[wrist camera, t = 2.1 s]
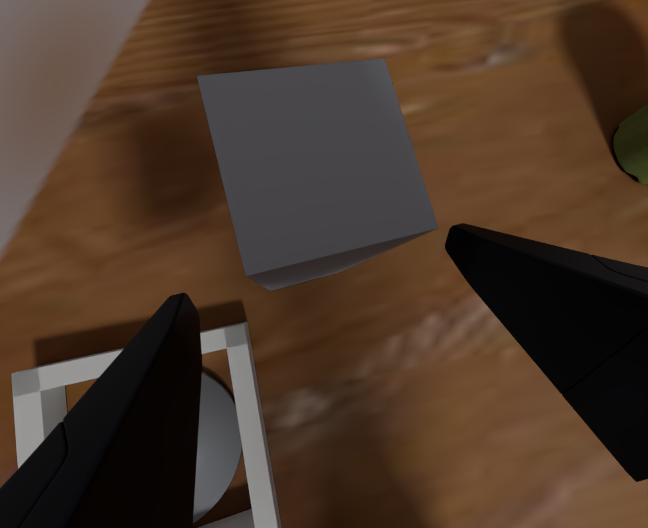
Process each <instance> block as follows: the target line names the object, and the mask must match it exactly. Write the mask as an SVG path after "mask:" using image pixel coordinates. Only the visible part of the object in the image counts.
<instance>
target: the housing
mask: <svg viewBox="0 0 648 528" xmlns="http://www.w3.org/2000/svg"><path fill="white" fill-rule="evenodd" d="M200 336H201V350H202V354H204V353H208V352H212V351H217V350H221V349H226V348H227V352H228V359H229V365H230V372H231V378H232V384H233V391H234V397H235V401H234V400H233V398H232V396H231V395H230V393H229V392H228V391H227V389H226V388H225V387H224V386H223V385H222V384H221V383H220V382H218V381H217V380H216V379H214V378H213V377H212V376H210V375H208V374H206V373H204V372H202V380H201V397H200V413H199V430H198V446H197V463H196V480H195V496H194V513H193V523H194V522H196V521H197V520H199V519H200V518H201V517H203V516H204V515H205V514H206V513H207V512H208V511H209V510H210V509H212V507H213V506H214V505H215V504H216V503H217V502H218V501H219V500H220V498H221V497H222V495H223V494H224V493H225V491H226V490H227V488H228V486H229V484H230V482H231V481H232V479H233V476H234V474H235V471H236V469H237V466H238V462H239V459H240V455H241V449H243V455H244V462H245V468H246V474H247V481H248V487H249V494H250V500H251V506H252V509H249V510H246V511H244V512H241V513H238V514H235V515H232V516H229V517H226V518H224V519H221V520H218V521H215V522H212V523H209V524H206V525H203V526H201V527H198V528H282V527H281V521H280V515H279V509H278V503H277V497H276V491H275V485H274V479H273V473H272V467H271V461H270V455H269V449H268V443H267V437H266V431H265V425H264V419H263V412H262V406H261V400H260V394H259V388H258V382H257V376H256V370H255V364H254V358H253V352H252V346H251V340H250V334H249V328H248V322H243V323H238V324H234V325H229V326H224V327H219V328H215V329H210V330H205V331H201V332H200ZM123 349H124V348H121V349H116V350H111V351H107V352H102V353H97V354H92V355H88V356H83V357H78V358H74V359H69V360H64V361H60V362H55V363H50V364H45V365H41V366H37V367H33V368H30V369H26V370H22V371H19V372H15V373H12V374H11V375H12V389H13V403H14V418H15V432H16V446H17V460H18V468H19V467H20V466H21V465H22V464H23V463H24V462H25V461H26V460H27V458H28V457H29V456H30V455H31V454H32V453H33V452H34V451H35V450H36V448H37V447H38V446H39V445H40V444H41V443H42V442H43V441H44V439H45V438H46V437H47V436H48V435H49V434H50V433H51V431H52V430H53V429H54V428H55V427H56V426H57V425H58V423H60V422H63V418H64V417H65V416H66V414H67V405H66V394H65V385H68V384H72V383H77V382H81V381H86V380H90V379H94V378H99V377H100V376H101V374H102V373H103V372H104V371H105V370H106V369H107V367H108V366H109V365H110V364H111V363H112V362H113V361H114V359H115V358H116V357H117V356H118V355H119V354H120V353H121V351H122V350H123Z"/></svg>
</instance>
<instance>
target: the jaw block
mask: <svg viewBox="0 0 648 528" xmlns="http://www.w3.org/2000/svg"><path fill="white" fill-rule="evenodd" d="M197 79H198V83H199V87H200V91H201V95H202V99H203V103H204V107H205V111H206V116H207V120H208V124H209V128H210V132H211V136H212V140H213V144H214V148H215V152H216V157H217V161H218V165H219V169H220V173H221V177H222V181H223V185H224V189H225V193H226V198H227V202H228V206H229V210H230V214H231V218H232V222H233V226H234V230H235V234H236V238H237V243H238V247H239V251H240V255H241V259H242V263H243V267H244V271H245V275H246V277H248V278H250V279H251V280H253V281H255V282H256V283H258V284H260V285H261V286H263V287H265V288H266V289H268V290H270V291H272V290H275V289H279V288H283V287H287V286H290V285H294V284H298V283H302V282H306V281H309V280H313V279H317V278H321V277H324V276H328V275H332V274H336V273H339V272H341V271H343V270H346V269H348V268H350V267H352V266H355V265H357V264H359V263H361V262H364V261H366V260H368V259H370V258H373V257H375V256H377V255H379V254H382V253H384V252H386V251H388V250H391V249H393V248H395V247H397V246H400V245H402V244H404V243H406V242H408V241H411V240H413V239H415V238H417V237H420V236H422V235H424V234H426V233H429V232H431V231H433V230H435V229H438V225H437V222H436V219H435V215H434V212H433V209H432V206H431V203H430V200H429V197H428V193H427V190H426V187H425V184H424V181H423V178H422V175H421V171H420V168H419V165H418V162H417V159H416V156H415V153H414V149H413V146H412V143H411V140H410V137H409V134H408V131H407V127H406V124H405V121H404V118H403V115H402V112H401V109H400V105H399V102H398V99H397V96H396V93H395V90H394V87H393V83H392V80H391V77H390V74H389V71H388V68H387V65H386V61H385V58H382V59H372V60H361V61H350V62H340V63H329V64H318V65H308V66H297V67H286V68H276V69H265V70H254V71H244V72H233V73H222V74H212V75H201V76H197Z"/></svg>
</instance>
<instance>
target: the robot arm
mask: <svg viewBox="0 0 648 528" xmlns="http://www.w3.org/2000/svg"><path fill="white" fill-rule="evenodd" d="M445 249H446V251H447V253H448V254H449V256H450V257H451V259H452V260H453V262H454V263H455V265H456V266H457V268H458V269H459V270H460V272H461V273H462V275H463V276H464V278H465V279H466V281H467V282H468V283H469V285H470V286H471V287H472V288H473V289H474V291H475V292H476V293H477V294H478V295H479V297H480V298H481V299H482V300H483V301H484V303H485V304H486V305H487V306H488V307H489V309H490V310H491V311H492V312H493V313H494V314H495V316H496V317H497V318H498V319H499V320H500V322H501V323H502V324H503V325H504V326H505V328H506V329H507V330H508V331H509V332H510V333H511V335H512V336H513V337H514V338H515V339H516V341H517V342H518V343H519V344H520V345H521V347H522V348H523V349H524V350H525V351H526V353H527V354H528V355H529V356H530V357H531V358H532V360H533V361H534V362H535V363H536V364H537V366H538V367H539V368H540V369H541V370H542V372H543V373H544V374H545V375H546V376H547V377H548V379H549V380H550V381H551V382H552V383H553V385H554V386H555V387H556V388H557V389H558V391H559V392H560V393H561V394H562V396H563V397H564V398H565V399H566V400H567V402H568V403H569V404H570V405H571V406H572V408H573V409H574V410H575V411H576V412H577V414H578V415H579V416H580V417H581V418H582V420H583V421H584V422H585V423H586V424H587V425H588V427H589V428H590V429H591V430H592V431H593V433H594V434H595V435H596V436H597V437H598V439H599V440H600V441H601V442H602V443H603V445H604V446H605V447H606V448H607V449H608V450H609V452H610V453H611V454H612V455H613V456H614V458H615V459H616V460H617V461H618V462H619V464H620V465H621V466H622V467H623V468H624V470H625V471H626V472H627V473H628V474H629V475H630V476H631V477H632V478H633V479H634V480H635V481H636V482H639V481H642V480H646V479H648V268H647V267H643V266H638V265H633V264H629V263H625V262H620V261H616V260H612V259H608V258H604V257H599V256H595V255H590V254H587V253H583V252H579V251H575V250H571V249H567V248H562V247H558V246H554V245H550V244H546V243H542V242H538V241H534V240H530V239H526V238H521V237H517V236H513V235H509V234H505V233H501V232H497V231H493V230H489V229H485V228H480V227H476V226H472V225H468V224H464V223H462V224H457V225H454V226H452V227H451V228H450V230H449V233H448V236H447V240H446V243H445ZM201 380H202V350H201V336H200V321H199V314H198V311H197V309H196V308H195V306H194V304H193V303H192V301H191V299H190V298H189V296H188V295H187V294H186V293H180V294H176V295H172V296H170V297H169V298H168V299H167V300H166V301H165V302H164V303H163V304H162V306H161V307H160V308H159V309H158V310H157V311H156V312H155V314H154V315H153V316H152V317H151V318H150V319H149V321H148V322H147V323H146V324H145V325H144V326H143V327H142V329H141V330H140V331H139V332H138V333H137V334H136V335H135V337H134V338H133V339H132V340H131V341H130V342H129V343H128V345H127V346H126V347H125V348H124V349H123V350H122V351H121V353H120V354H119V355H118V356H117V357H116V358H115V359H114V361H113V362H112V363H111V364H110V365H109V366H108V367H107V369H106V370H105V371H104V372H103V373H102V374H101V376H100V377H99V378H98V379H97V380H96V381H95V382H94V384H93V385H92V386H91V387H90V388H89V389H88V390H87V392H86V393H85V394H84V395H83V396H82V397H81V398H80V400H79V401H78V402H77V403H76V404H75V405H74V406H73V408H72V409H71V410H70V411H69V412H68V413H67V414H66V416H65V417H64V418H63V422H60V423H58V425H57V426H56V427H55V428H54V429H53V430H52V431H51V433H50V434H49V435H48V436H47V437H46V438H45V439H44V441H43V442H42V443H41V444H40V445H39V446H38V447H37V448H36V450H35V451H34V452H33V453H32V454H31V455H30V456H29V457H28V458H27V460H26V461H25V462H24V463H23V464H22V465H21V466H20V467H19V468H18V470H17V471H16V472H15V473H14V474H13V475H12V476H11V477H10V478H9V479H8V480H7V481H6V483H5V484H4V485H3V486H2V487H1V488H0V528H193V513H194V496H195V480H196V463H197V446H198V430H199V413H200V397H201Z"/></svg>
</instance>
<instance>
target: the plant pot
mask: <svg viewBox="0 0 648 528" xmlns="http://www.w3.org/2000/svg"><path fill="white" fill-rule="evenodd" d="M618 127H619V129H618V130H617V132H616V134H615V135H614V138H613V147H614V151H615V154H616V156H617V159H618V162H619V164H620V165H621V167H622V168H623V169H624V170H625V171H626V172H627V173H629V174H632V175H634V176H636V177H637V178H638V181H639V182H640V183H642V184H646V185H648V104H647V105H646V106H644V107H643V108H641V109H640V110H638V111H637V112H635V113H634V114H632V115H631V116H629V117H628V118H627V119H625V120H624V121H622V122H621V123H620V124H619V125H618Z"/></svg>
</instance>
